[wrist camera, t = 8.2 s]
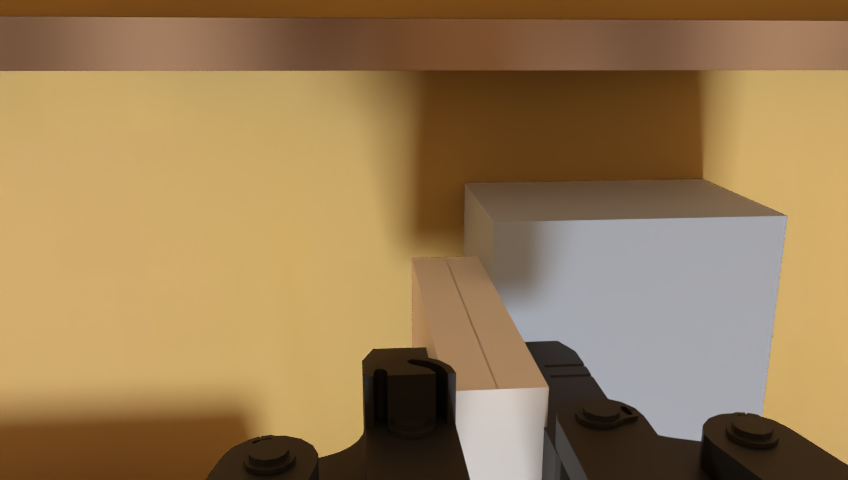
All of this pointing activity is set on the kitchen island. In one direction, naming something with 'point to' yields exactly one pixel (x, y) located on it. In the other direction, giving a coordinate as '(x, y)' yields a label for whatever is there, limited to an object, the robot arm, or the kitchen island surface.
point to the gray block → (640, 286)
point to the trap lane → (415, 44)
